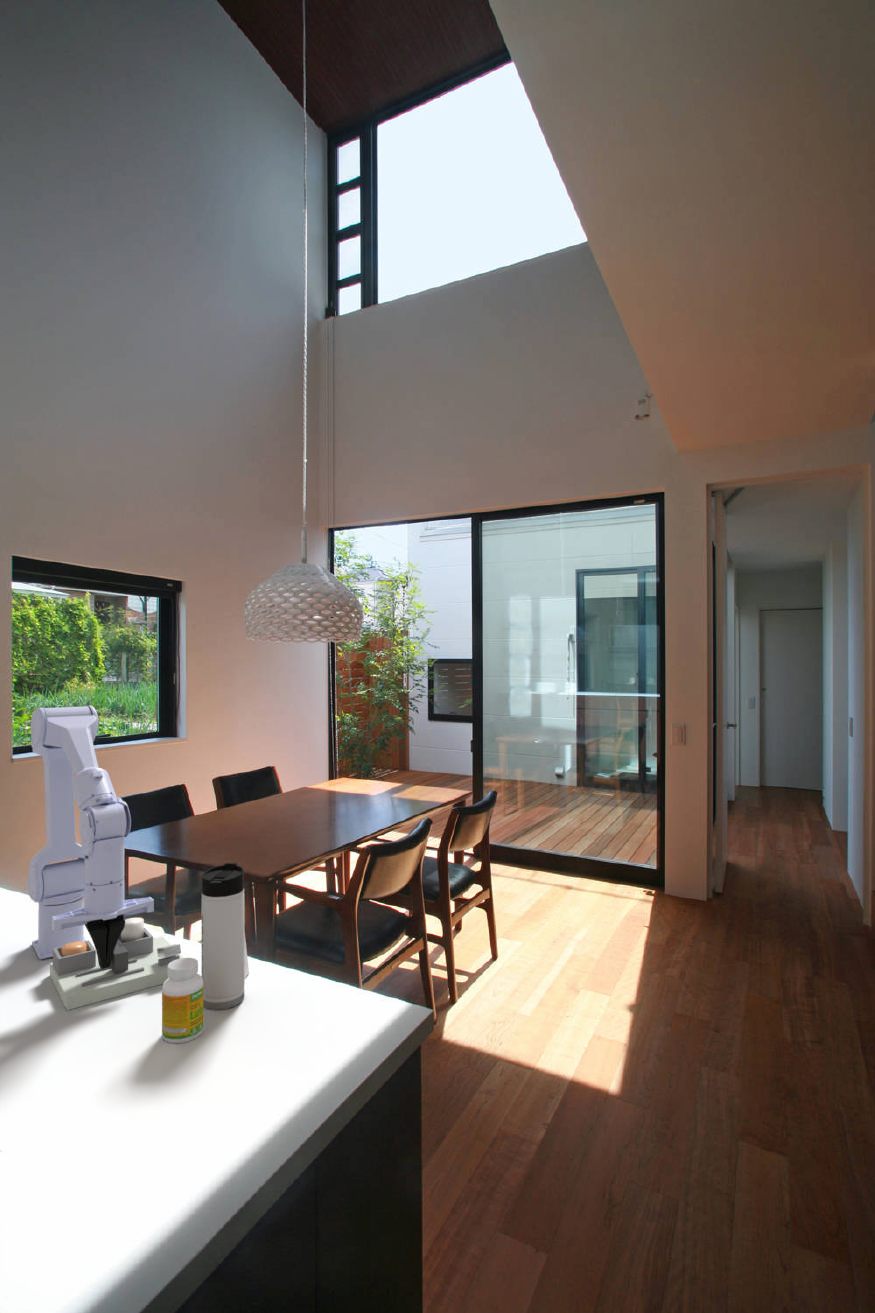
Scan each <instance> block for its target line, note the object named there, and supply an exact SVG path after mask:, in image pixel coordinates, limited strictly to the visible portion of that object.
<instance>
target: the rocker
mask: <svg viewBox="0 0 875 1313" xmlns="http://www.w3.org/2000/svg"><path fill="white" fill-rule="evenodd" d="M181 949H182V948H181V944H179V943H178V944H176V943H175V944H170V945H169V946H165V947H161V948H157V953H158V957H168V956H172V955H176V954H180V955H181V953H182V950H181Z"/></svg>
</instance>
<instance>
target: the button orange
mask: <svg viewBox="0 0 875 1313" xmlns="http://www.w3.org/2000/svg"><path fill="white" fill-rule="evenodd" d="M82 952H86V942H82V941H79V942H72V943H68V944H66V945H64V946H63V947H62V957H65V956H69V955H74V954H78V953H82Z"/></svg>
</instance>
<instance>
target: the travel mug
mask: <svg viewBox="0 0 875 1313" xmlns="http://www.w3.org/2000/svg"><path fill="white" fill-rule="evenodd" d="M244 883H245V870H244V868H243V867H242V866H241V865H239V864H237V862H226V863H224V864H222V865H218V866H217V865H216V866H213V867H211V868H208V869H207V870H205V871H204V872H203V873H202V875H201V887H202V888H201V977H202V978H203V1008H205V1009H208V1010H212V1011H213V1010H214V1011H219V1010H220V1011H221V1010H222V1011H223V1010H228V1009H231V1008H233V1007H236V1006H238V1005H239V1004H241V1002H243V1000H244V999H245V979H244V931H245V884H244ZM227 1008H228V1009H227Z"/></svg>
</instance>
